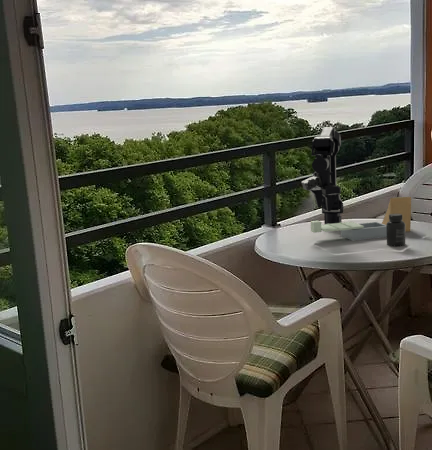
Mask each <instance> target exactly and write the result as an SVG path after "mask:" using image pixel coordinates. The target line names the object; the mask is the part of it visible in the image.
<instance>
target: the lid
mask: <svg viewBox="0 0 432 450" xmlns="http://www.w3.org/2000/svg"><path fill="white" fill-rule="evenodd" d="M359 228H364V226H362V225H360V223H357V222H354V221H346V222H340V223H334V224H322V221H320V220H312V221H310V232H311V233H313V234H315V233H321V232H322V231H323V232H325V233H328V232H341V230H350V229H359Z"/></svg>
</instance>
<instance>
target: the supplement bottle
mask: <svg viewBox="0 0 432 450" xmlns="http://www.w3.org/2000/svg"><path fill="white" fill-rule="evenodd" d="M402 219H403V218H402V214H389V220H390V221H389V222H387V224H386V235H387V237H386V246H389V247H395V248H397V247H399V248H400V247H405V246H406V232H405V223H404V222H403V221H402Z"/></svg>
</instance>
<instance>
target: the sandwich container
mask: <svg viewBox="0 0 432 450" xmlns="http://www.w3.org/2000/svg"><path fill="white" fill-rule="evenodd" d="M389 214H402V218H403V219H402V221H403V222H404V223H405V233H406V232H411V219H412V215H411V214H412V197H411V196H399V197H390V198H389V203H388V206H387V209H386V211H385V214H384V216H383V220H382V222H381V223H382V224H384V225H386V224H387V222H389V221H390V220H389Z"/></svg>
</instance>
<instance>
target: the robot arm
mask: <svg viewBox="0 0 432 450" xmlns="http://www.w3.org/2000/svg"><path fill="white" fill-rule="evenodd" d="M341 137H342V136H341V134H340V132H339V131H337V130H336V129H335V127H334V126H324V127H322V128H321V132H320V134H319V135H317V136H314V139H312V142H311V143H312V144H311V156H312V157H314V159H313V161H312V163H311V168H312V170H313V171H314V172H313V175H312V176H310V177H308V178H307V179H304V180H302V181H301V185H302V188H303V190H306V191H309V192H310V193H312V195H313V197H314V200H315V202H316V206H317V208H319V209H320V208H321V213H322V214H323V215H324V216H323V217H324V219H323V220H324V221H323V222H324V224H334V223H340V222H342V214H344V212H345V211H344V207H345V206H344V202H343V200H342V199H341V192H342V191H341V189H342V188H341V187H340V186H339V185H337V154H338V153H339V151H340V147H341V145H342V140H341V139H342V138H341ZM342 223H343V222H342ZM324 224H323V225H324Z"/></svg>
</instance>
